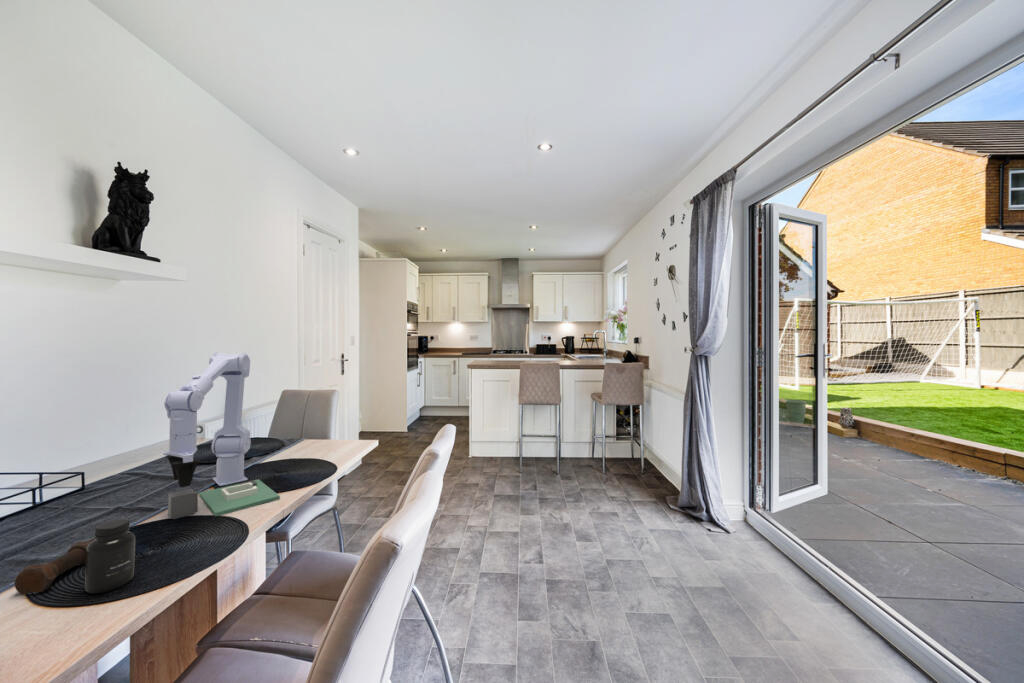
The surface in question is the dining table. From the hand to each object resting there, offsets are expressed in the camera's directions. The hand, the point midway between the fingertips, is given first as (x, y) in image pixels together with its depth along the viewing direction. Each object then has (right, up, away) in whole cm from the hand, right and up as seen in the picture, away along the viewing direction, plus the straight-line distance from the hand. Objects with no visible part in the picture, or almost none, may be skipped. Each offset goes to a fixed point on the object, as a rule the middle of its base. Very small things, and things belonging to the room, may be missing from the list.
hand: (182, 482), depth 106 cm
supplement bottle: (+11, -10, -30) cm, 33 cm away
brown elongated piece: (-2, -9, -26) cm, 28 cm away
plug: (0, -9, 0) cm, 9 cm away
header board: (+7, -9, +12) cm, 17 cm away
